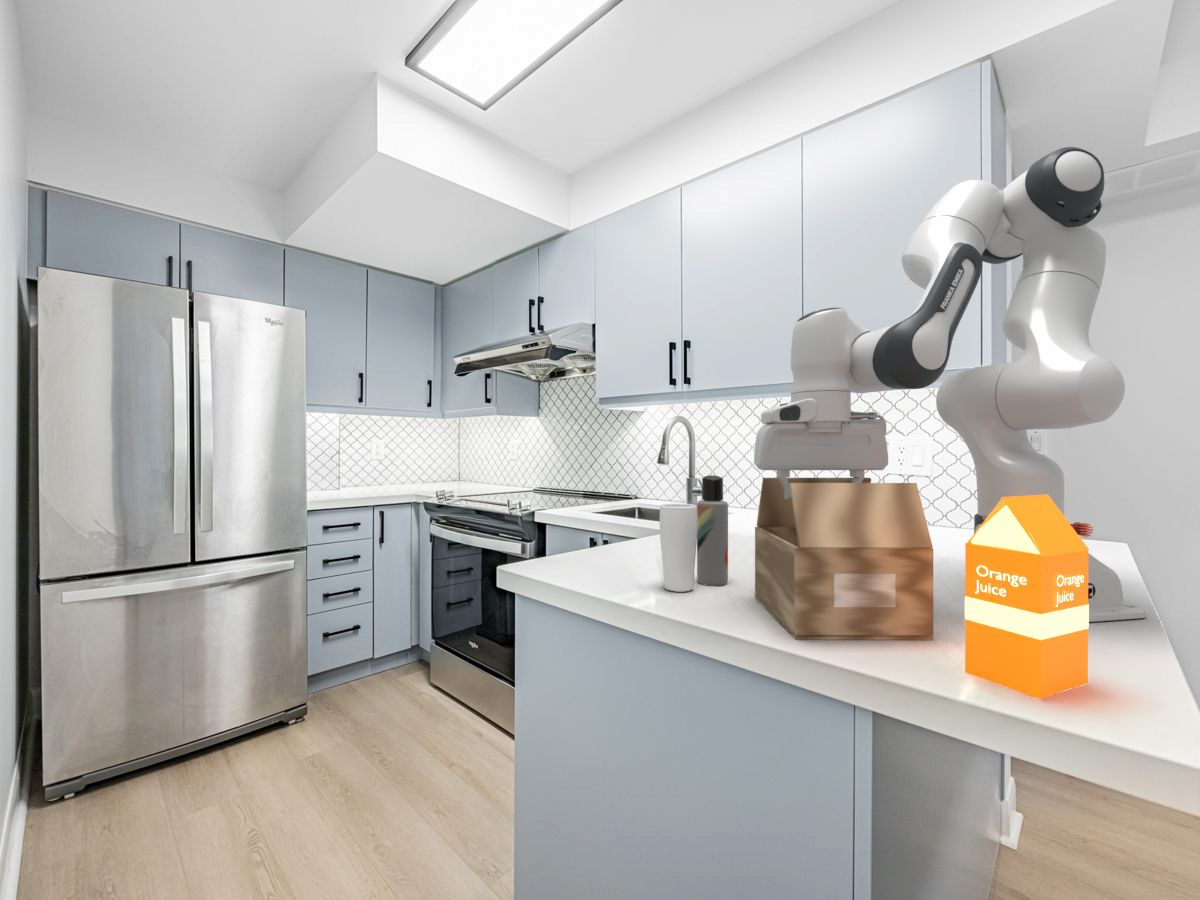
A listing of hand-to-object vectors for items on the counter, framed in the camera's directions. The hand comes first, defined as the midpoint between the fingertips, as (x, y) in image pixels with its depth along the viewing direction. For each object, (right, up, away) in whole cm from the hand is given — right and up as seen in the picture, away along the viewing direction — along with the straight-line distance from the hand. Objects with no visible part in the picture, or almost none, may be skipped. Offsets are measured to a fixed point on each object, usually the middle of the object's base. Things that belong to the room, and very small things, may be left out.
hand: (820, 499), depth 88 cm
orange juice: (+12, -17, -27) cm, 34 cm away
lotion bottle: (-14, -17, +16) cm, 27 cm away
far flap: (0, -1, +3) cm, 3 cm away
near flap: (0, -1, -13) cm, 13 cm away
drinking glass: (-21, -17, +11) cm, 29 cm away
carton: (0, -17, -5) cm, 18 cm away
